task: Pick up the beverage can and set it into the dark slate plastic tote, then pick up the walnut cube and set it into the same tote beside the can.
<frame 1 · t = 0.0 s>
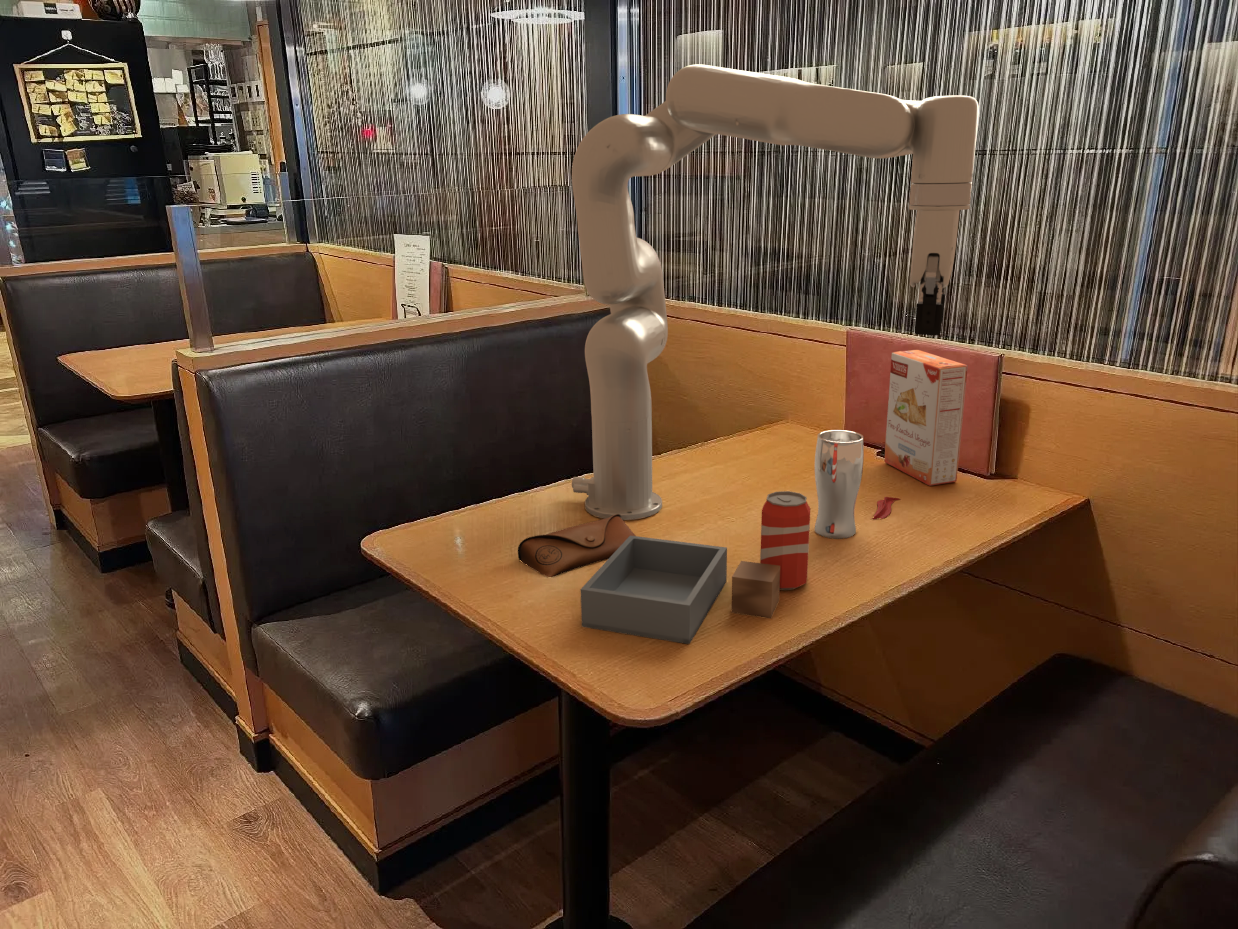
hand: (928, 328, 125), 31 cm above the table, tool pointing down, fingers open, 9 cm apart
tote: (657, 603, 117), on the table
cracker box: (918, 474, 164), on the table
sunglasses case: (585, 557, 133), on the table
beverage can: (783, 583, 123), on the table
beer glass: (834, 532, 139), on the table
cayenne pepper: (883, 512, 148), on the table
walnut cube: (755, 607, 116), on the table
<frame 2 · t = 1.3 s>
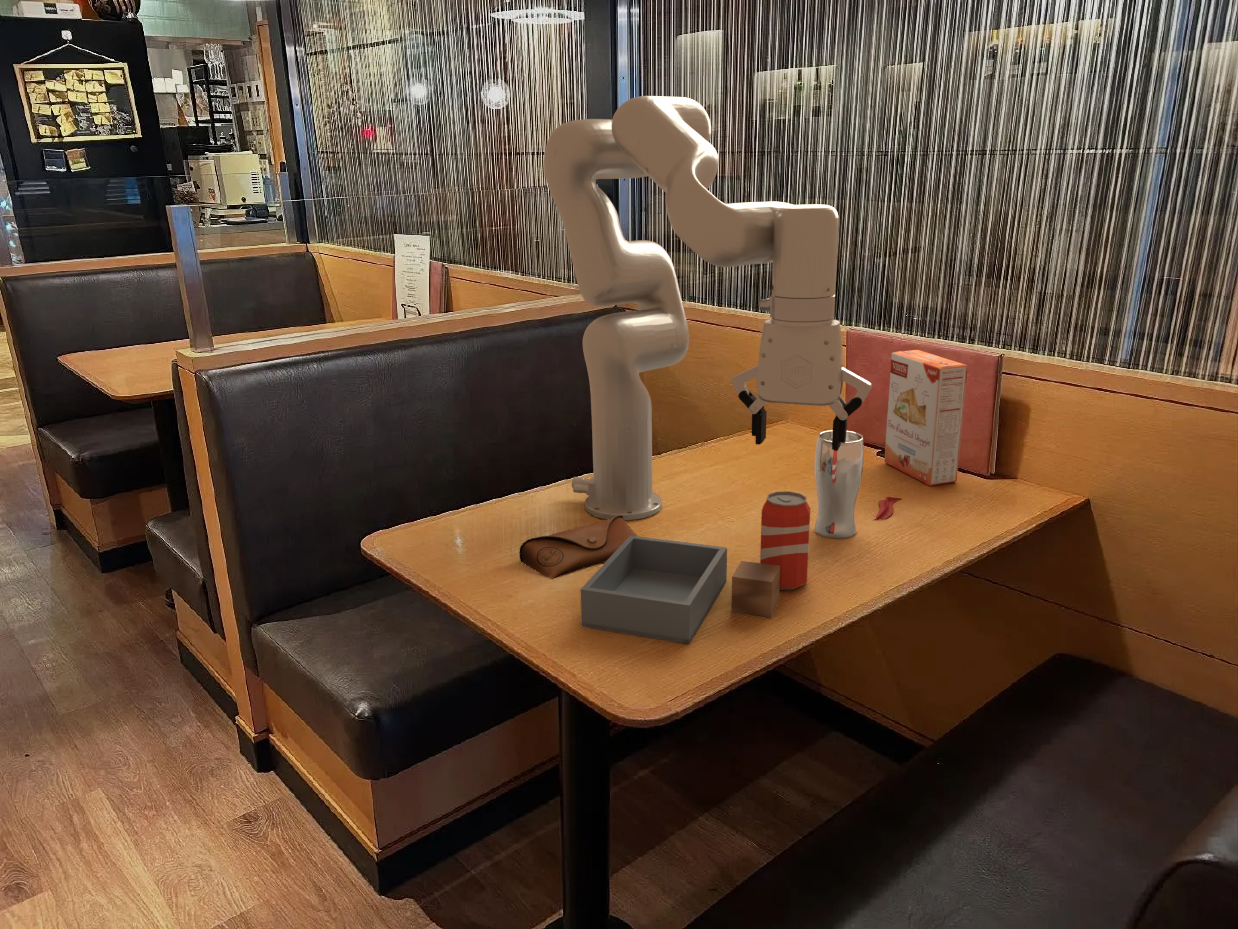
hand: (798, 444, 117), 19 cm above the table, tool pointing down, fingers open, 9 cm apart
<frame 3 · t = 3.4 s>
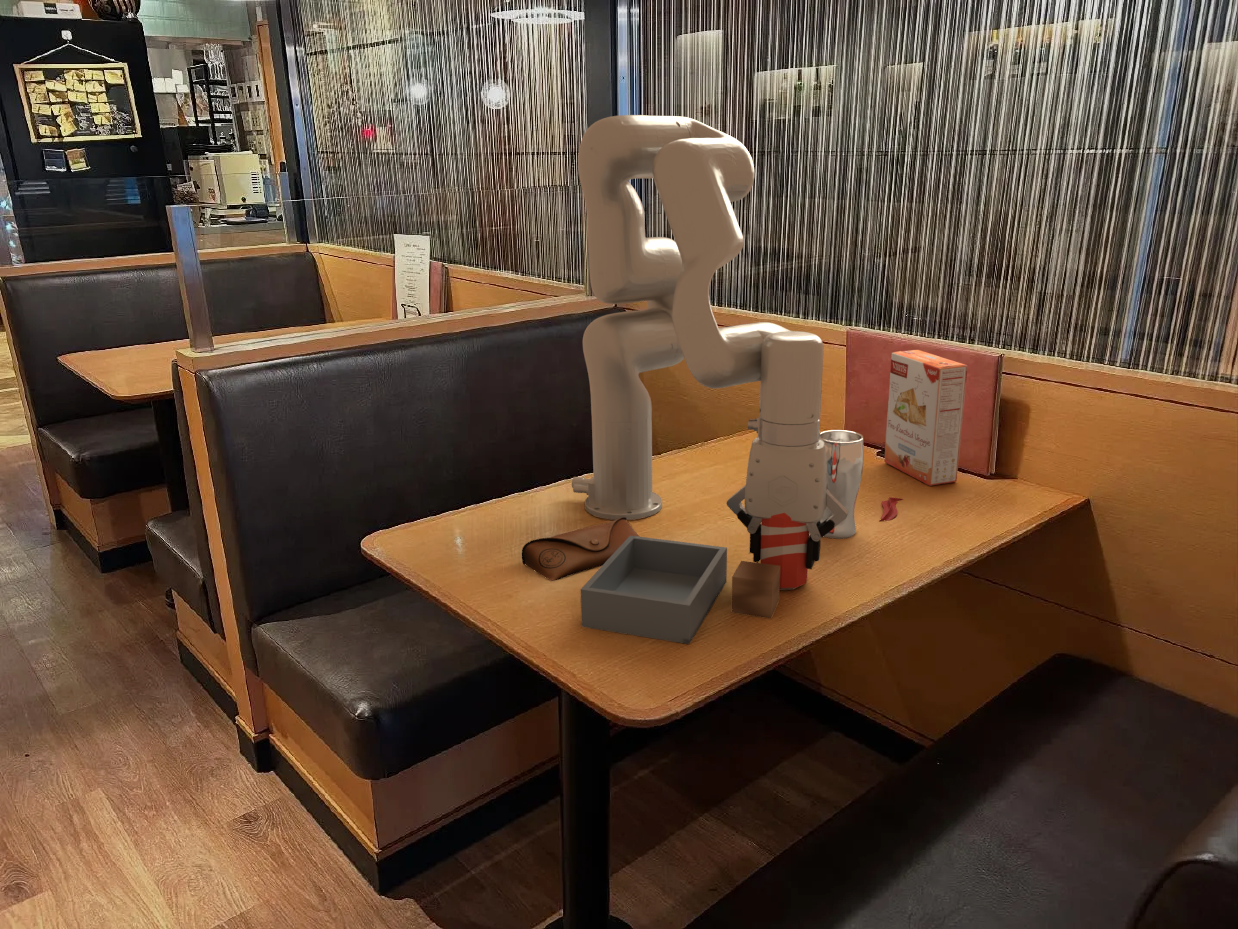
hand: (784, 560, 122), 3 cm above the table, tool pointing down, fingers closed on beverage can, 6 cm apart
beverage can: (783, 583, 123), on the table, touching gripper
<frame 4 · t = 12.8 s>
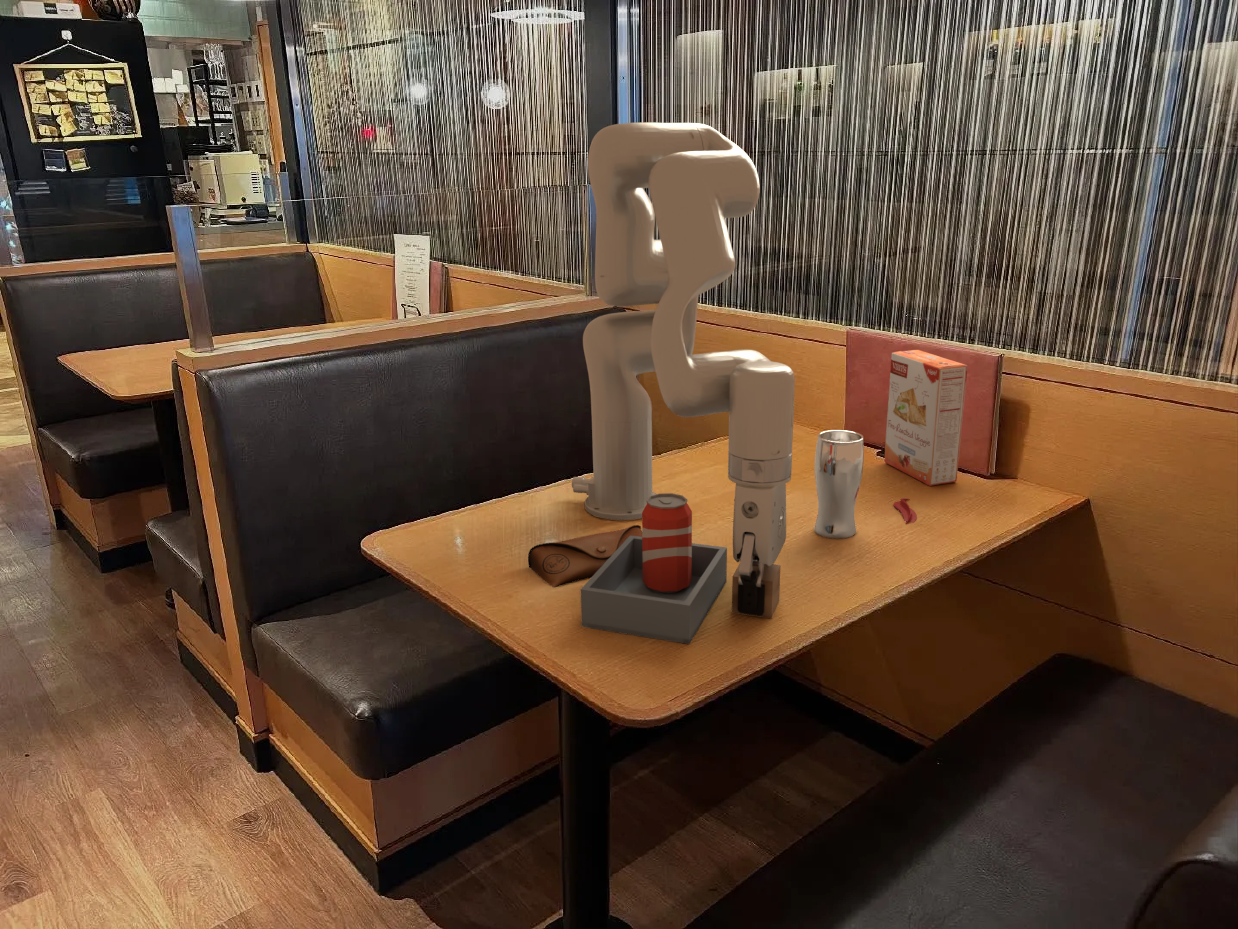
hand: (755, 601, 116), 1 cm above the table, tool pointing down, fingers closed on walnut cube, 5 cm apart
sunglasses case: (597, 568, 130), on the table
beverage can: (667, 587, 121), resting on tote
cayenne pepper: (904, 515, 146), on the table
walnut cube: (755, 606, 116), on the table, touching gripper
everything else where it was.
when the fingers open (4 cm above the table, at t = 17.4 s): walnut cube drops 3 cm, resting on tote.
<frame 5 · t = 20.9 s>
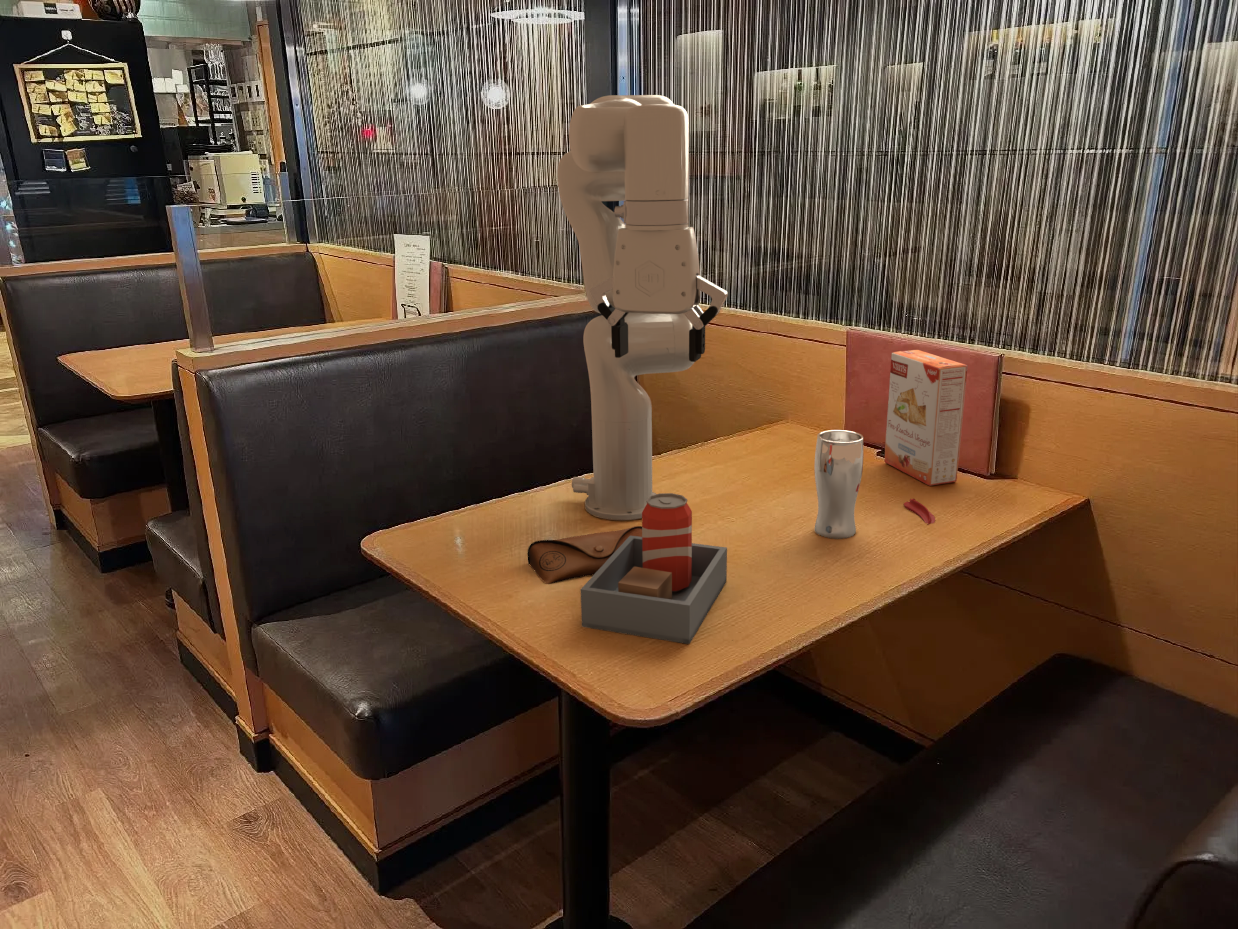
hand: (657, 357, 115), 30 cm above the table, tool pointing down, fingers open, 9 cm apart
cayenne pepper: (918, 515, 146), on the table
walnut cube: (645, 614, 113), point 1 cm above the table, touching tote
at the end: beverage can inside the target area on the tote (4.1 cm from its centre), point 0.4 cm above the tote's base; walnut cube inside the target area on the tote (4.5 cm from its centre), point 0.6 cm above the tote's base; the gripper is holding nothing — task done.
